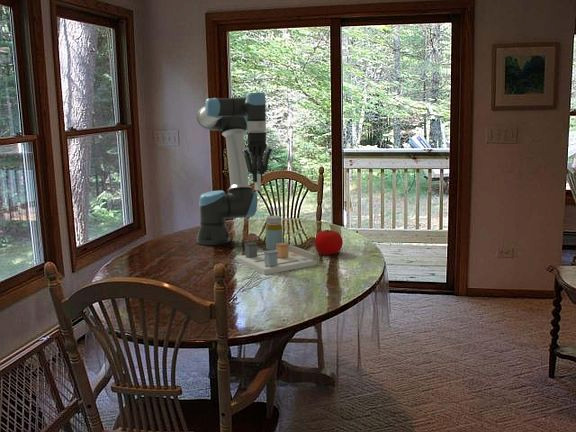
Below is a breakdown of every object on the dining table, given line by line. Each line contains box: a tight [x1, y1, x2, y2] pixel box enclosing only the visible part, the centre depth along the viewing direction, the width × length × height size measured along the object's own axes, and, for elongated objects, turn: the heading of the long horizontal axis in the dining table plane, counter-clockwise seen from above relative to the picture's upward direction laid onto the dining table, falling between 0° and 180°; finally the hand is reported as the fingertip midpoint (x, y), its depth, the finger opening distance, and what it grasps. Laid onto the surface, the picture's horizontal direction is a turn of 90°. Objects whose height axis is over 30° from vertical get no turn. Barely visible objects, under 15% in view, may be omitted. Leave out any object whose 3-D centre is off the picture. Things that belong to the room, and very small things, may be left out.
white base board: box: [235, 242, 318, 276], centre depth 240 cm, size 23×24×4 cm
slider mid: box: [276, 241, 290, 258], centre depth 241 cm, size 4×4×5 cm
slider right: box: [263, 250, 278, 266], centre depth 230 cm, size 4×4×5 cm
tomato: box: [314, 229, 343, 256], centre depth 253 cm, size 12×12×10 cm
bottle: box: [265, 214, 283, 251], centre depth 260 cm, size 7×7×15 cm
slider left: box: [243, 241, 258, 257], centre depth 243 cm, size 4×4×5 cm
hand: (257, 189), depth 245 cm, fingers closed
